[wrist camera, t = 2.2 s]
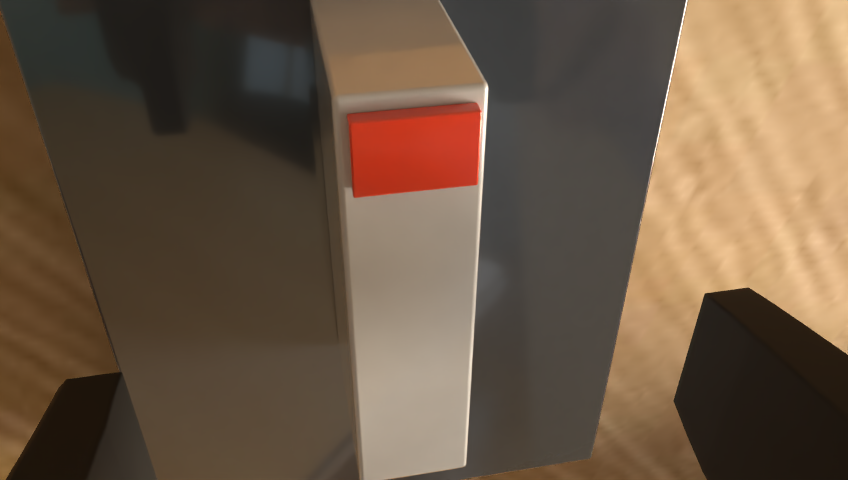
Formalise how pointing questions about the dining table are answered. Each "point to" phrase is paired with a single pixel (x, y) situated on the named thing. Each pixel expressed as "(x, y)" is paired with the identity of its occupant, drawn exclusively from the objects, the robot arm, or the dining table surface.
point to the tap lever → (402, 224)
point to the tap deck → (308, 220)
